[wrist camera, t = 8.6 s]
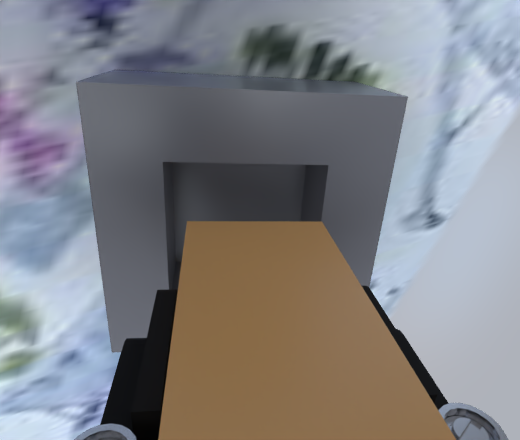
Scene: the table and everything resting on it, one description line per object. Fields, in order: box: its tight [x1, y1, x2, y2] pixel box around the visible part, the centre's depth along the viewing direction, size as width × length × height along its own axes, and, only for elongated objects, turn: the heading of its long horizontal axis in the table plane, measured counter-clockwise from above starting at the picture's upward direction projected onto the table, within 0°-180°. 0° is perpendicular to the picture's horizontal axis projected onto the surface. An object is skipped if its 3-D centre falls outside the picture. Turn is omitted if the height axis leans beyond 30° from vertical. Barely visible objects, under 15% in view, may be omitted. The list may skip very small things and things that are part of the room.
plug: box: [158, 221, 456, 440], centre depth 8 cm, size 4×4×12 cm
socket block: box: [76, 70, 408, 352], centre depth 19 cm, size 12×12×6 cm
